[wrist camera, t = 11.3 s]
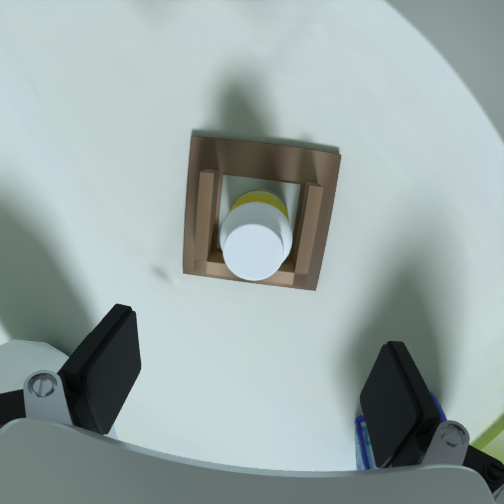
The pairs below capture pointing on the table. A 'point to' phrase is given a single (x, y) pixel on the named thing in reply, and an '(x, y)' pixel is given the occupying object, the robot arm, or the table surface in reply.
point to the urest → (250, 178)
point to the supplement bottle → (256, 235)
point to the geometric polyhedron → (29, 364)
